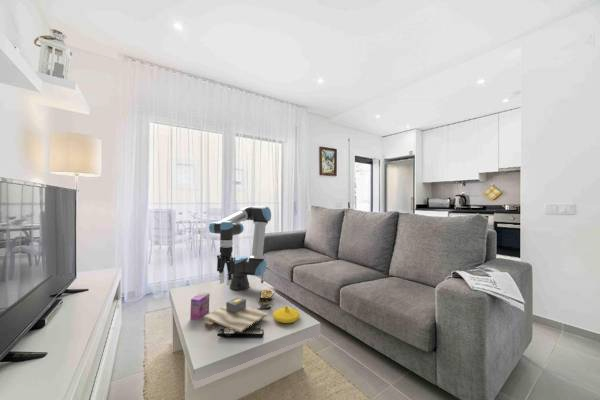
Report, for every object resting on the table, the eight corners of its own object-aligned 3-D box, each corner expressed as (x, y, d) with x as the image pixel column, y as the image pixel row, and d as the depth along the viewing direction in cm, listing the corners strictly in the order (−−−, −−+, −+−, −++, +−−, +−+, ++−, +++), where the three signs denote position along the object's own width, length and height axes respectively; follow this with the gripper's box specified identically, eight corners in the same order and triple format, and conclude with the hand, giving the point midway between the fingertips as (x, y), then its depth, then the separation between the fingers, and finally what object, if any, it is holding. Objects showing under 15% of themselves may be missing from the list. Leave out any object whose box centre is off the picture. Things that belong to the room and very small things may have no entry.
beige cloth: (232, 307, 156) (232, 302, 156) (267, 319, 142) (267, 313, 142) (198, 324, 134) (198, 318, 134) (236, 340, 120) (236, 333, 120)
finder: (237, 305, 152) (237, 296, 152) (245, 307, 148) (246, 298, 148) (226, 310, 144) (226, 301, 144) (234, 313, 140) (235, 304, 140)
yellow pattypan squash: (297, 312, 151) (297, 301, 151) (302, 325, 136) (302, 312, 136) (271, 314, 149) (272, 302, 149) (273, 327, 133) (273, 314, 133)
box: (199, 320, 138) (199, 299, 138) (190, 319, 140) (190, 298, 140) (209, 312, 149) (209, 293, 149) (200, 311, 150) (201, 292, 150)
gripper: (211, 245, 152) (210, 282, 152) (232, 249, 143) (231, 288, 143) (220, 243, 159) (219, 279, 159) (241, 247, 149) (240, 285, 149)
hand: (225, 283), depth 151 cm, fingers open, 5 cm apart
